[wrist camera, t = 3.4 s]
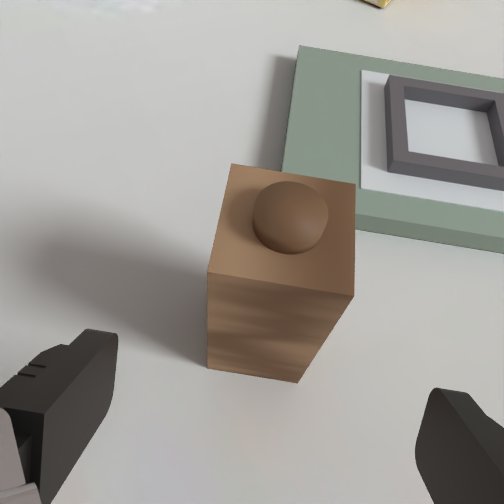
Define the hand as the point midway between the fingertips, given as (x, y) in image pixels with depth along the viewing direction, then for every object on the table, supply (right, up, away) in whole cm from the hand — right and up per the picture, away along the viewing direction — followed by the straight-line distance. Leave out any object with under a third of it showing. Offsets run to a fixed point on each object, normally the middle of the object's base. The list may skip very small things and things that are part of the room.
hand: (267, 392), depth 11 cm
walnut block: (0, -1, +12) cm, 12 cm away
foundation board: (+13, +11, +21) cm, 27 cm away
